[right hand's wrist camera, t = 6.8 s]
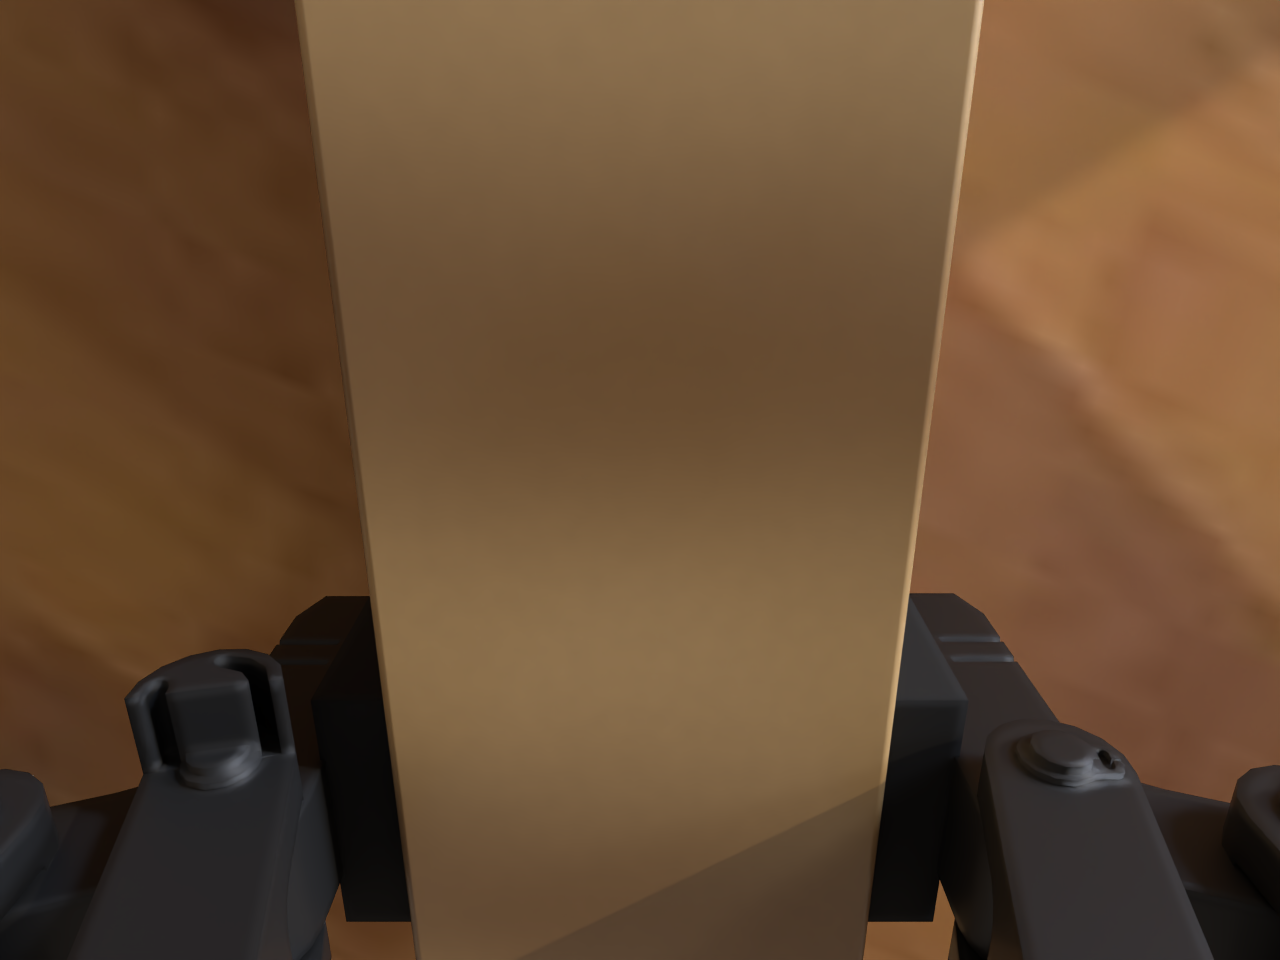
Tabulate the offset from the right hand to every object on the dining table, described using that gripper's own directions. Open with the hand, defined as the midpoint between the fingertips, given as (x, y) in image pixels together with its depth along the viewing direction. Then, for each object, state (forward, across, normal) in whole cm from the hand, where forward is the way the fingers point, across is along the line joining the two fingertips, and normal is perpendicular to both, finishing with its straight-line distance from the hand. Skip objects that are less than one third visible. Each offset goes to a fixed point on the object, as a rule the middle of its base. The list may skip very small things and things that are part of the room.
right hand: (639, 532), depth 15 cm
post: (+1, 0, -28) cm, 28 cm away
